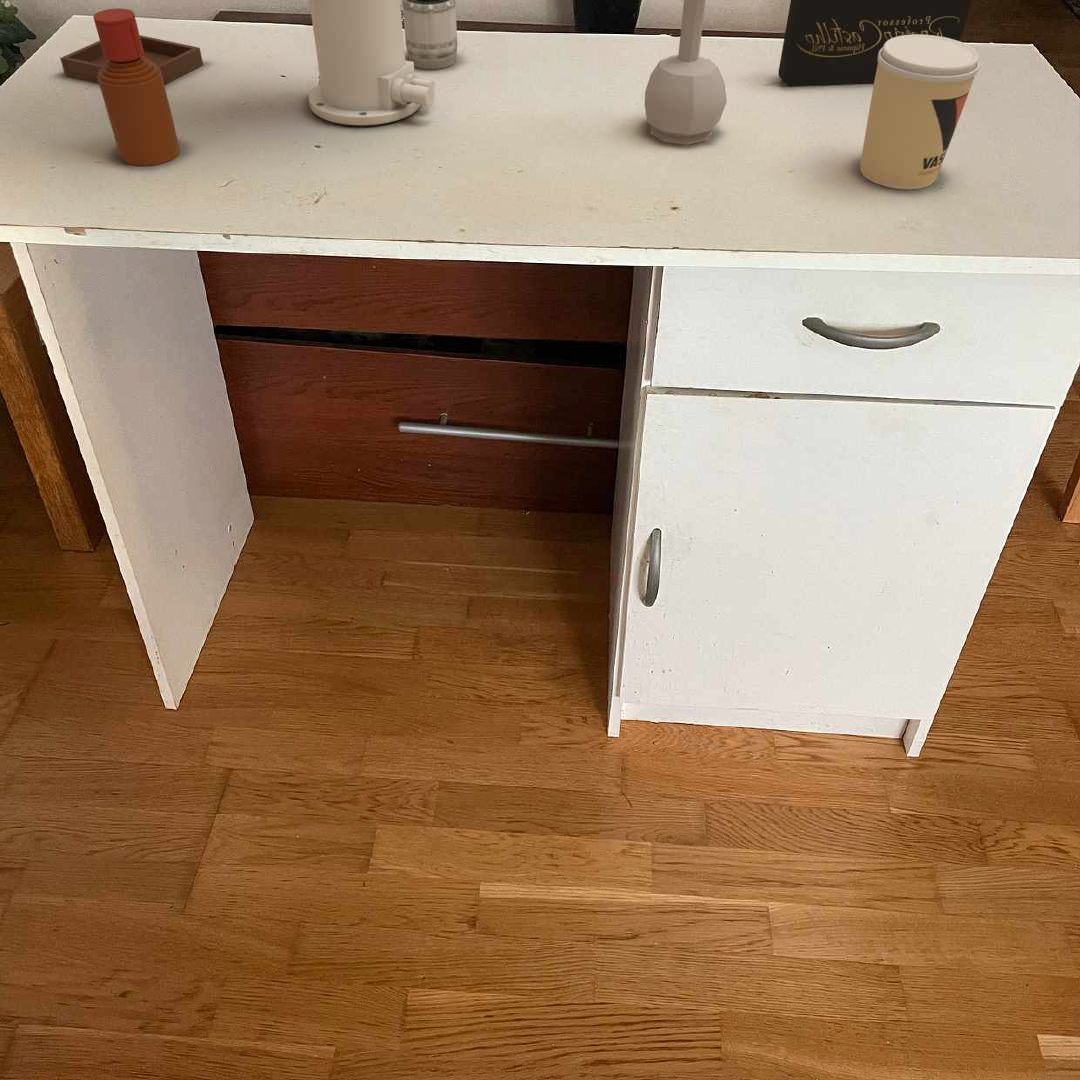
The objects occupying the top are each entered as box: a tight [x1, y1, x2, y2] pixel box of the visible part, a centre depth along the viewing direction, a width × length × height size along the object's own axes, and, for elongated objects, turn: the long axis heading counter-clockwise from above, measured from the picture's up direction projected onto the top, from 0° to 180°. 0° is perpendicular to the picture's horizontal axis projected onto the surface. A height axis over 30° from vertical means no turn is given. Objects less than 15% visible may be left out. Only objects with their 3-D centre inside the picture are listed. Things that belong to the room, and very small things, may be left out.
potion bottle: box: [644, 0, 728, 145], centre depth 104 cm, size 9×9×18 cm
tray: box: [60, 34, 204, 85], centre depth 120 cm, size 12×10×2 cm
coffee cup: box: [859, 35, 981, 191], centre depth 100 cm, size 9×9×12 cm
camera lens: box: [401, 0, 458, 70], centre depth 122 cm, size 6×6×8 cm
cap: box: [92, 7, 144, 62], centre depth 97 cm, size 4×4×4 cm
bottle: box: [98, 56, 181, 167], centre depth 101 cm, size 6×6×13 cm
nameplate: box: [777, 0, 973, 88], centre depth 118 cm, size 21×2×10 cm, turn 98°
